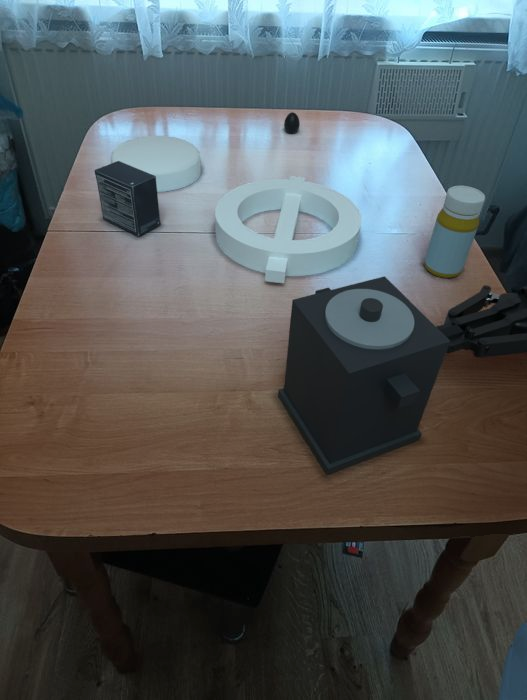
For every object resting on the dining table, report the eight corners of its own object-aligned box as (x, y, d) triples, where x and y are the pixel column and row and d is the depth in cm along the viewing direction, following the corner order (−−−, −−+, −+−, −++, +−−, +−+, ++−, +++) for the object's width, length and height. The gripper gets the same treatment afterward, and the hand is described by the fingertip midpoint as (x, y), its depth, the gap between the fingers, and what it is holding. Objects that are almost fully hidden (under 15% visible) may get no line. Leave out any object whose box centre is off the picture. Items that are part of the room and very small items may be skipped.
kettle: (436, 450, 70) (486, 338, 56) (335, 490, 65) (363, 378, 51) (357, 353, 83) (381, 242, 69) (268, 380, 78) (275, 267, 64)
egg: (297, 135, 143) (299, 116, 139) (282, 133, 143) (283, 114, 140) (299, 129, 146) (301, 110, 142) (284, 128, 146) (286, 109, 143)
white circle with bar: (297, 188, 121) (298, 167, 118) (387, 246, 105) (392, 224, 102) (188, 223, 108) (187, 201, 105) (272, 294, 92) (274, 271, 89)
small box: (163, 224, 107) (158, 174, 100) (139, 238, 104) (132, 187, 96) (126, 207, 112) (118, 158, 105) (101, 219, 108) (92, 169, 101)
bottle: (415, 266, 100) (436, 192, 90) (437, 253, 104) (460, 180, 93) (447, 284, 97) (472, 208, 86) (468, 270, 100) (496, 196, 90)
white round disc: (124, 150, 131) (121, 131, 128) (205, 155, 131) (205, 136, 128) (103, 189, 117) (99, 169, 114) (195, 194, 117) (194, 174, 114)
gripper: (576, 353, 75) (440, 402, 68) (510, 299, 84) (383, 337, 76) (602, 312, 70) (457, 360, 63) (529, 259, 79) (394, 295, 71)
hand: (417, 348), depth 69 cm, fingers closed
